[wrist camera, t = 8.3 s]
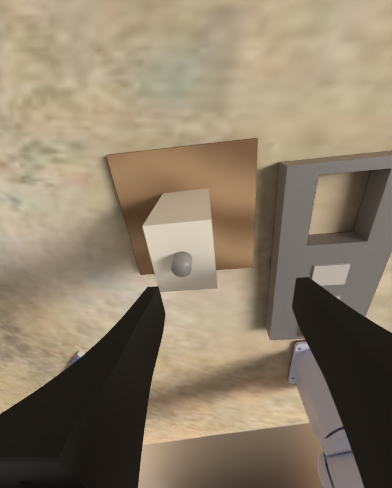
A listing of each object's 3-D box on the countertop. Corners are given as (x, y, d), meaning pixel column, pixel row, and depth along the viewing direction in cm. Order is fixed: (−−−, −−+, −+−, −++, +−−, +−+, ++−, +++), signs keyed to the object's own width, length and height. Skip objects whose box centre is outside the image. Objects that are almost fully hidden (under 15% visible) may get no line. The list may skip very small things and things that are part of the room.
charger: (213, 239, 20) (218, 298, 13) (172, 243, 21) (156, 302, 14) (208, 188, 18) (212, 227, 11) (163, 193, 18) (137, 233, 11)
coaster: (251, 263, 22) (253, 267, 22) (142, 270, 23) (140, 274, 23) (255, 138, 17) (257, 138, 16) (110, 154, 18) (106, 155, 17)
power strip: (346, 322, 26) (360, 341, 24) (265, 326, 27) (271, 344, 25) (408, 148, 17) (440, 152, 14) (279, 162, 17) (290, 167, 15)
